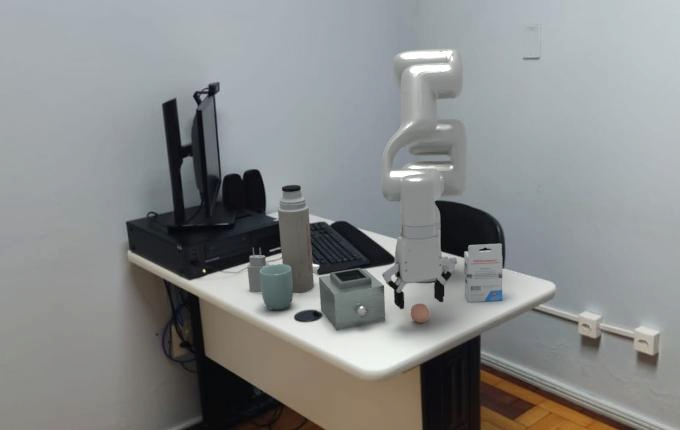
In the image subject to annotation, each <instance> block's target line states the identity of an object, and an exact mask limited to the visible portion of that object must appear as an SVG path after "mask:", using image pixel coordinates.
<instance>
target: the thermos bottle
mask: <svg viewBox="0 0 680 430" xmlns="http://www.w3.org/2000/svg"><path fill="white" fill-rule="evenodd" d="M301 189H302V186H301V185H299V184H289V185H288V184H287V185H284V186H281V191H282V197H281V199H279V207H278V208H277V217H278V227H279V228H278V229H279V239H280V251H281V261H282V264H285V265H289V266H290V267H291V269H292V279H293V294H302V293H307V292H310V291H312V290H314V287H315V283H314V281H315V280H314V273H313V266H312V263H313V254H312V253H313V251H311V249H312V240H311V224H310V222H311V221H310V212H309V211H310V210H309V206H308V205H307V204H306V203H307V201H306V198H305V197H304V196H302V190H301Z"/></svg>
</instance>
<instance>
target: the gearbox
mask: <svg viewBox="0 0 680 430" xmlns="http://www.w3.org/2000/svg"><path fill="white" fill-rule="evenodd" d="M318 283H319V299H320V311H321V312H322V314H323V315H324V316H325V318H326V319H327V320H328V321H329V322H330V324H331V325H332V327H333V328H334V330H335V331H340V330H341V331H342V330H344V329H345V330H346V329H350V328H355V327H361V326H366V325H371V324H375V323H381V322H385V321H386V302H385V300H386V299H385V285H384V284H383V282H381V281H380V280H379V279H377V278H376V277H375V276H374V275H373V274H372V273H371V272H370V271H368V269H366V268H363V269H362V268H361V267H356V268H350V269H345V270H339V271H334V272H332V271H331V272H330V273H329V275H321V276H318Z"/></svg>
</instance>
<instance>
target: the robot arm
mask: <svg viewBox="0 0 680 430" xmlns="http://www.w3.org/2000/svg"><path fill="white" fill-rule="evenodd" d="M392 71H393V75H394V79H395V82H396V86H397V87H398V89H399V92H400V126H399V129H397V130H396V131H395V132H394V134H393V135H392V136H391V137H390V138H389V140H388V142H387V143H386V145H385V147H384V149H383V152H382V157H381V163H380V170H381V171H380V189H381V194H382V196H383V198H384V199H385V200H387V201H389V202H400V203H399V204H400V236H397V239H396V243H395V244H396V245H395V250H394V251H395V252H394V265H393V266H391V267H390V268H388V269H387V270H385V271H384V272H382V274H381V276H382V277H383V280H384V281H385V283H386V284H387V285H388V286H389V287H390V288H391V289H393V297H394V299H393V300H394V301H393V302H394V305H396V306H397V308H399V309H400V310H404V308H405V293H404V291H403V289H404V288H405V287H406V285H407V284H413V283H431V282H434V283H433V286H434V287H433V288H434V289H433V291H434V292H433V293H434V294H433V295H434V299H435V300H437V301H438V302H439V303H443V302H444V297H445V286H446V285H447V282H448V280H449V279H450V278H451V276H452V273H453V270H455V265H456V264H458V259H457V258H456V257H449V256H447V255H446V256H442V255H443V254H442V249H441V213H440V210H439V208H438V206H437V205H436V201H438V199H439V198H447V197H449V198H451V197H453V198H455V197H460V196H463V195H465V193H466V192H467V188H468V148H467V146H468V145H467V132H466V131H467V130H466V127H465V124H464V123H463V122H462V121H461V120H459V119H456V118H442V119H441V118H440V119H439V118H438V102H437V100H448V99H451V100H452V99H457V98H459V97H460V96H461V94H462V91H463V87H464V70H463V58H462V55H461V53H460V52H459V50H458V49H456V48H437V49H435V48H434V49H416V50H406V51H402V52H399V53H397V54H396V55H395V56H394V58H393V60H392ZM404 148H406V150H407V153H409V155H412V156H416V157H418V156H419V157H428V156H429V157H431V156H432V157H433V156H434V157H435V156H438V157H439V156H446V157H448V158H449V160H423V161H422V160H417V161H412V162H409V163H406V164H404V165H403V166H402V168H394V161H395V159H396V156H397V155H398V153H399V152H401V151H402V150H403V149H404ZM392 276H394V277H395V278H396V279H395V281H394V280H393V279H392Z"/></svg>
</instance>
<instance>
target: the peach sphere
mask: <svg viewBox="0 0 680 430" xmlns="http://www.w3.org/2000/svg"><path fill="white" fill-rule="evenodd" d="M409 313H410V318H411V319H412V321H414V322H416V323H418V324H422V323H425V322H426V321H428V319H429V318H430V315H431V314H430V308H429V307H428V306H427V305H426V304H424V303H416V304H414V305H413V306H412V307H411V309H410V312H409Z"/></svg>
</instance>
